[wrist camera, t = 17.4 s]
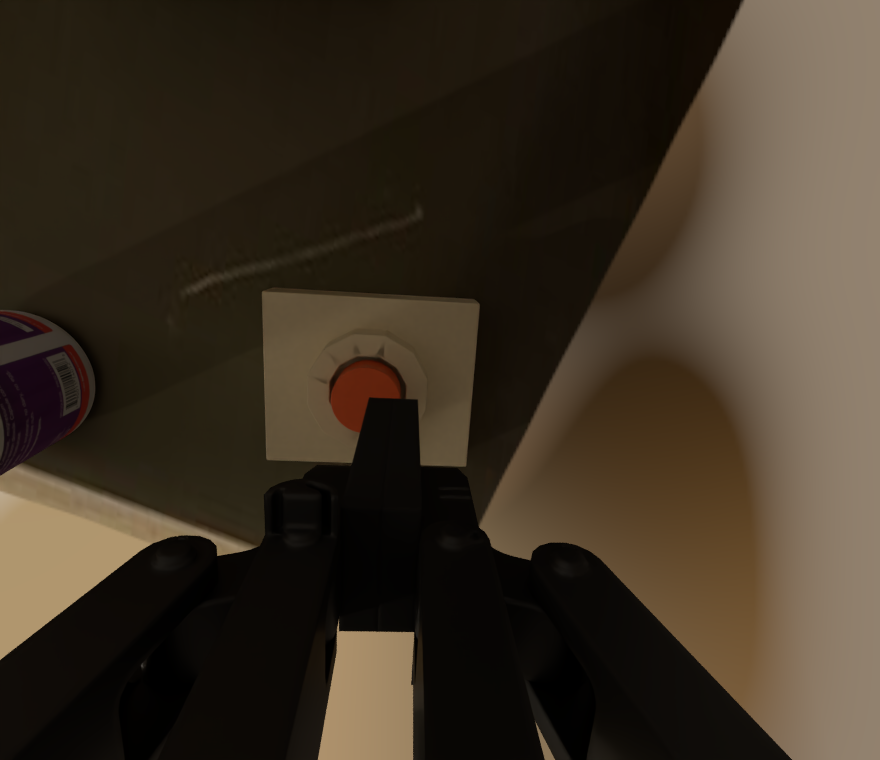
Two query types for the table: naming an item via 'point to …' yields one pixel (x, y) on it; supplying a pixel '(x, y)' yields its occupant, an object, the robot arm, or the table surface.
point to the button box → (365, 338)
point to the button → (361, 391)
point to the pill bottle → (39, 386)
